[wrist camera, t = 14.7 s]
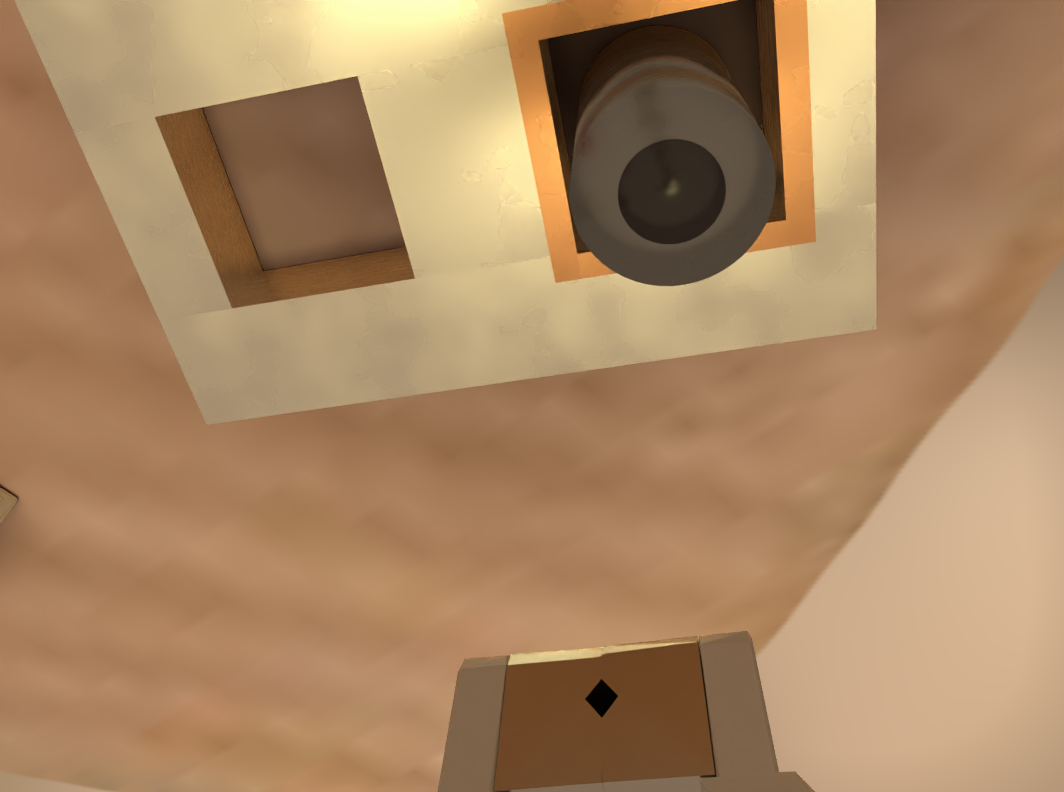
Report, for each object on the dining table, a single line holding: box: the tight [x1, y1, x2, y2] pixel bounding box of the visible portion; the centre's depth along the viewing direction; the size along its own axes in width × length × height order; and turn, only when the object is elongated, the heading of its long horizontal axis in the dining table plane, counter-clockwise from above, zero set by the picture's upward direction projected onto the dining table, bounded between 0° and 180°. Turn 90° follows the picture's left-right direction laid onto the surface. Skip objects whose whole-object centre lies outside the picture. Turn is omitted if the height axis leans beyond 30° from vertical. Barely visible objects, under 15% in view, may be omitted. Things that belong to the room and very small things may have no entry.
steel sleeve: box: [569, 25, 776, 286], centre depth 23 cm, size 5×5×8 cm
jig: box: [14, 0, 876, 425], centre depth 26 cm, size 14×22×3 cm, turn 101°
